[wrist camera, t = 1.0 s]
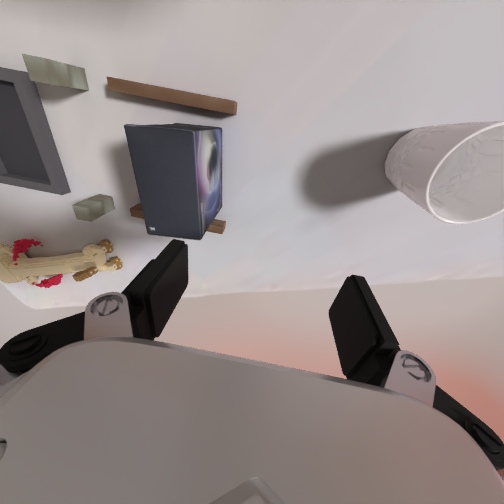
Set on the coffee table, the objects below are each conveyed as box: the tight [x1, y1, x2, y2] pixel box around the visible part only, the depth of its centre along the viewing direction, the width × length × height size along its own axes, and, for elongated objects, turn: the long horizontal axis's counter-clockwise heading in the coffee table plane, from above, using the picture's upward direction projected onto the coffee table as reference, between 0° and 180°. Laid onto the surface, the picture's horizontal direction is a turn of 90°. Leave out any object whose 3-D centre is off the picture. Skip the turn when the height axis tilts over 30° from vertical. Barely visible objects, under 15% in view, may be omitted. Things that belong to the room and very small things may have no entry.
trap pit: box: [0, 67, 71, 195], centre depth 28 cm, size 14×10×2 cm
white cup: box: [384, 121, 504, 224], centre depth 21 cm, size 8×8×10 cm
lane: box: [22, 54, 237, 234], centre depth 26 cm, size 17×20×5 cm
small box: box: [124, 123, 222, 240], centre depth 24 cm, size 11×6×10 cm, turn 176°
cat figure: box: [0, 239, 123, 288], centre depth 37 cm, size 10×9×25 cm
